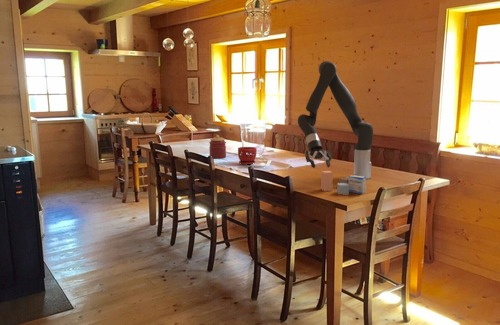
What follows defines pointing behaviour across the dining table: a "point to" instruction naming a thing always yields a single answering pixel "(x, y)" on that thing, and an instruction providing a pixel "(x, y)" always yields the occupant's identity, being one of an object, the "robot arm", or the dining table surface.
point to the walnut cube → (344, 180)
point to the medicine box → (357, 184)
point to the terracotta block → (326, 180)
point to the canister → (217, 147)
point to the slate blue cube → (343, 188)
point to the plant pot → (247, 155)
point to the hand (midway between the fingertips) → (321, 167)
